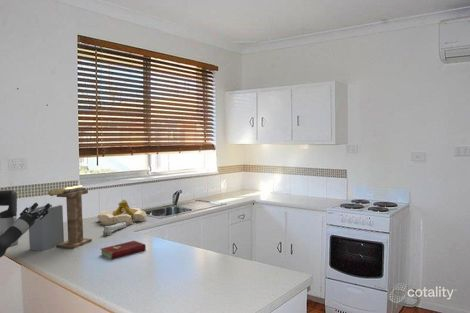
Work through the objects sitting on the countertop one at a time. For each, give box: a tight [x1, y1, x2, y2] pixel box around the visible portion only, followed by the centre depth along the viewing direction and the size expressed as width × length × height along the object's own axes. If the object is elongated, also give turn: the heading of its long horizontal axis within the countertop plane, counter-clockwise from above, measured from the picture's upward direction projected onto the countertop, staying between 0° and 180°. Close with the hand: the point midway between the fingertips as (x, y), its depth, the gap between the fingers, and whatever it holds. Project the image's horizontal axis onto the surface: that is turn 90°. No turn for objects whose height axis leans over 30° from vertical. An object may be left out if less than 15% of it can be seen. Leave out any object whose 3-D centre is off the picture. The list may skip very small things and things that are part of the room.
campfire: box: [97, 199, 147, 226], centre depth 293 cm, size 35×34×17 cm
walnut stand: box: [56, 187, 93, 250], centre depth 231 cm, size 16×12×33 cm
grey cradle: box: [28, 204, 65, 252], centre depth 228 cm, size 16×10×24 cm, turn 161°
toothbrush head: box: [102, 222, 128, 237], centre depth 261 cm, size 5×7×25 cm
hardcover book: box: [100, 240, 147, 260], centre depth 214 cm, size 12×21×4 cm, turn 136°
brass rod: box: [48, 184, 84, 197], centre depth 226 cm, size 24×3×3 cm, turn 161°
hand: (43, 204), depth 209 cm, fingers open, 8 cm apart
